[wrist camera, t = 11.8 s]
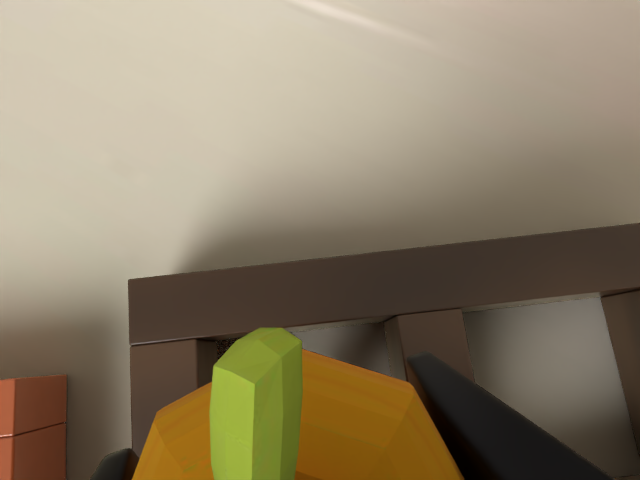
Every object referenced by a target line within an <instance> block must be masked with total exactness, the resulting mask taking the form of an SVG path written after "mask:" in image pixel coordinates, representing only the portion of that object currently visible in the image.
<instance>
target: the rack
mask: <svg viewBox="0 0 640 480" xmlns="http://www.w3.org/2000/svg"><path fill="white" fill-rule="evenodd" d="M594 297H601V302H602V306H603V310H604V314H605V318H606V322H607V326H608V330H609V334H610V338H611V342H612V346H613V350H614V354H615V358H616V362H617V366H618V370H619V374H620V378H621V382H622V386H623V390H624V395H625V399H626V403H627V407H628V411H629V415H630V419H631V423H632V427H633V431H634V435H635V439H636V443H637V447H638V451H639V455H640V223H635V224H626V225H617V226H608V227H599V228H590V229H581V230H572V231H562V232H553V233H544V234H535V235H526V236H517V237H508V238H499V239H490V240H481V241H472V242H463V243H454V244H445V245H435V246H426V247H417V248H408V249H399V250H390V251H381V252H372V253H363V254H354V255H345V256H336V257H327V258H318V259H308V260H299V261H290V262H281V263H272V264H263V265H254V266H245V267H236V268H227V269H218V270H209V271H200V272H191V273H181V274H172V275H163V276H154V277H145V278H136V279H129V280H128V299H129V344H130V345H131V347H130V375H131V421H132V450H133V451H134V452H135V453H136V454H137V456H138V457H139V459H140V456H141V454H142V451H143V448H144V445H145V443H146V440H147V437H148V435H149V432H150V429H151V426H152V424H153V421H154V418H155V416H156V413H157V412H158V411H159V410H161V409H162V408H163V407H165V406H167V405H169V404H171V403H173V402H175V401H176V400H178V399H180V398H182V397H184V396H186V395H188V394H190V393H191V392H193V391H195V390H197V389H199V388H201V387H203V386H204V385H206V384H208V383H210V382H212V376H213V366H214V365H215V363H216V362H217V361H218V356H217V343H216V341H220V340H229V339H237V338H242V337H244V336H246V335H247V334H249V333H251V332H253V331H254V330H256V329H258V328H283V329H285V330H286V331H288V332H298V331H307V330H316V329H324V328H333V327H342V326H350V325H359V324H368V323H377V322H384V328H385V336H386V343H387V350H388V357H389V364H390V371H391V377H393V378H396V379H400V380H403V381H406V382H409V381H408V375H407V369H406V358H407V357H408V356H411V355H414V354H417V353H420V352H423V351H428V352H430V353H432V354H433V355H435V356H436V357H438V358H439V359H441V360H442V361H444V362H445V363H446V364H448V365H449V366H451V367H452V368H454V369H455V370H457V371H458V372H460V373H461V374H463V375H464V376H465V377H467V378H468V379H470V380H471V381H473V382H474V383H475V381H474V375H473V369H472V364H471V358H470V353H469V347H468V342H467V336H466V331H465V325H464V319H463V314H462V313H464V312H472V311H481V310H490V309H498V308H507V307H516V306H524V305H533V304H542V303H551V302H559V301H568V300H577V299H585V298H594ZM614 479H615V480H640V475H635V476H627V477H619V478H614Z"/></svg>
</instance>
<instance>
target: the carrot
mask: <svg viewBox="0 0 640 480" xmlns="http://www.w3.org/2000/svg"><path fill="white" fill-rule="evenodd" d="M132 480H465V479H464V477H463V475H462V474H461V472H460V470H459V468H458V466H457V465H456V463H455V461H454V459H453V457H452V456H451V454H450V452H449V450H448V448H447V446H446V445H445V443H444V441H443V439H442V437H441V436H440V434H439V432H438V430H437V428H436V427H435V425H434V423H433V421H432V419H431V418H430V416H429V414H428V412H427V410H426V409H425V407H424V405H423V403H422V401H421V399H420V398H419V396H418V394H417V392H416V390H415V389H414V387H413V386H412V385H411V384H410V383H409V382H406V381H403V380H400V379H396V378H393V377H390V376H387V375H384V374H381V373H377V372H374V371H371V370H368V369H365V368H361V367H358V366H355V365H352V364H349V363H346V362H342V361H339V360H336V359H333V358H330V357H327V356H323V355H320V354H317V353H314V352H311V351H307V350H304V349H302V341H301V340H300V339H298V338H297V337H295V336H294V335H292V334H291V333H289V332H288V331H286V330H285V329H283V328H258V329H256V330H254V331H253V332H251V333H249V334H247V335H246V336H244V337H242V338H240V339H238V340H237V341H235V342H234V343H233V345H232V346H231V347H230V348H229V349H228V350H227V351H226V352H225V353H224V355H223V356H222V357H221V358H220V359H219V360H218V361H217V362H216V363H215V365H214V366H213V376H212V382H210V383H208V384H206V385H204V386H203V387H201V388H199V389H197V390H195V391H193V392H191V393H190V394H188V395H186V396H184V397H182V398H180V399H178V400H176V401H175V402H173V403H171V404H169V405H167V406H165V407H163V408H162V409H161V410H159V411H158V412H157V413H156V416H155V418H154V421H153V424H152V426H151V429H150V432H149V435H148V437H147V440H146V443H145V445H144V448H143V451H142V454H141V456H140V459H139V462H138V464H137V467H136V470H135V473H134V475H133V478H132Z"/></svg>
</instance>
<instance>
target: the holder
mask: <svg viewBox="0 0 640 480" xmlns="http://www.w3.org/2000/svg"><path fill="white" fill-rule="evenodd" d="M66 418H67V375H66V374H59V375H46V376H33V377H20V378H10V379H1V380H0V480H66V423H64V422H66Z"/></svg>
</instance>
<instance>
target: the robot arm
mask: <svg viewBox="0 0 640 480" xmlns="http://www.w3.org/2000/svg"><path fill="white" fill-rule="evenodd" d="M406 369H407V375H408V381H409V383H410V384H411V385H412V386H413V387H414V389H415V390H416V392H417V394H418V396H419V398H420V399H421V401H422V403H423V405H424V407H425V409H426V410H427V412H428V414H429V416H430V418H431V419H432V421H433V423H434V425H435V427H436V428H437V430H438V432H439V434H440V436H441V437H442V439H443V441H444V443H445V445H446V446H447V448H448V450H449V452H450V454H451V456H452V457H453V459H454V461H455V463H456V465H457V466H458V468H459V470H460V472H461V474H462V475H463V477H464V479H465V480H615V479H614V478H613V477H611V476H610V475H609V474H607V473H606V472H604V471H603V470H601V469H600V468H598V467H597V466H595V465H594V464H592V463H591V462H590V461H588V460H587V459H585V458H584V457H582V456H581V455H579V454H578V453H576V452H575V451H573V450H572V449H571V448H569V447H568V446H566V445H565V444H563V443H562V442H560V441H559V440H557V439H556V438H555V437H553V436H552V435H550V434H549V433H547V432H546V431H544V430H543V429H541V428H540V427H538V426H537V425H536V424H534V423H533V422H531V421H530V420H528V419H527V418H525V417H524V416H522V415H521V414H519V413H518V412H517V411H515V410H514V409H512V408H511V407H509V406H508V405H506V404H505V403H503V402H502V401H500V400H499V399H498V398H496V397H495V396H493V395H492V394H490V393H489V392H487V391H486V390H484V389H483V388H482V387H480V386H479V385H477V384H476V383H474V382H473V381H471V380H470V379H468V378H467V377H465V376H464V375H463V374H461V373H460V372H458V371H457V370H455V369H454V368H452V367H451V366H449V365H448V364H446V363H445V362H444V361H442V360H441V359H439V358H438V357H436V356H435V355H433V354H432V353H430V352H428V351H423V352H420V353H417V354H414V355H411V356H408V357H407V358H406ZM138 462H139V457H138V456H137V454H136V453H135V452H134V451H133V450H132V449H130V448H128V449H123V450H120V451H117V452H114V453H111V454H109V455H107V456H106V457H105V458H104V459H103V460H102V461H101V463H100V464H99V466H98V467H97V469H96V471H95V472H94V474H93V475H92V477H91V478H90V480H132V478H133V475H134V473H135V470H136V467H137V464H138Z"/></svg>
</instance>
